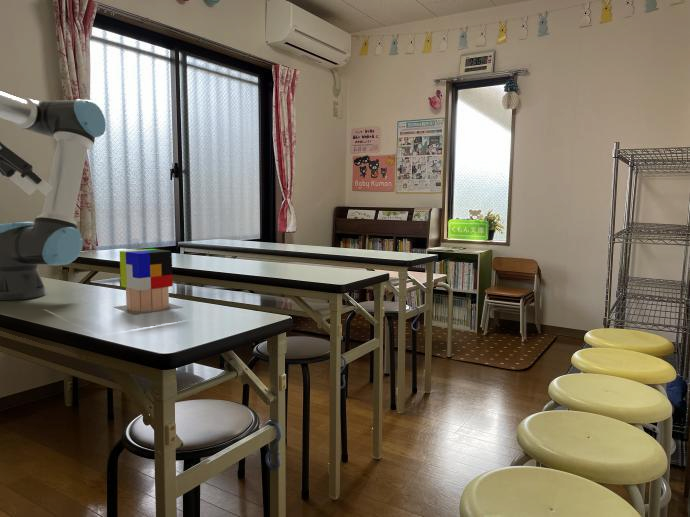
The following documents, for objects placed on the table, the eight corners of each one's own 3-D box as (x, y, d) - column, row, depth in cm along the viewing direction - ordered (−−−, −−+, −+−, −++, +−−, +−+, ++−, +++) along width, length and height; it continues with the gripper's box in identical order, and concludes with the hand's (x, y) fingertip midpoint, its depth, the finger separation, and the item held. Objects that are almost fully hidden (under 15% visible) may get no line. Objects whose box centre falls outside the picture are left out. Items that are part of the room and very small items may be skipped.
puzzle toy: (139, 290, 136) (138, 253, 134) (120, 286, 142) (119, 251, 141) (172, 286, 143) (171, 251, 142) (153, 282, 150) (152, 248, 148)
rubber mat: (113, 308, 143) (113, 306, 143) (160, 302, 153) (160, 300, 153) (134, 316, 133) (134, 315, 133) (183, 309, 143) (183, 307, 143)
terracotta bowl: (120, 307, 143) (119, 286, 142) (157, 301, 151) (157, 281, 150) (137, 313, 135) (136, 291, 135) (175, 307, 143) (175, 286, 143)
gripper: (-54, 142, 131) (17, 201, 144) (-33, 135, 114) (45, 202, 127) (-30, 124, 135) (37, 182, 147) (-7, 114, 118) (67, 181, 130)
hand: (41, 191), depth 137 cm, fingers open, 13 cm apart
